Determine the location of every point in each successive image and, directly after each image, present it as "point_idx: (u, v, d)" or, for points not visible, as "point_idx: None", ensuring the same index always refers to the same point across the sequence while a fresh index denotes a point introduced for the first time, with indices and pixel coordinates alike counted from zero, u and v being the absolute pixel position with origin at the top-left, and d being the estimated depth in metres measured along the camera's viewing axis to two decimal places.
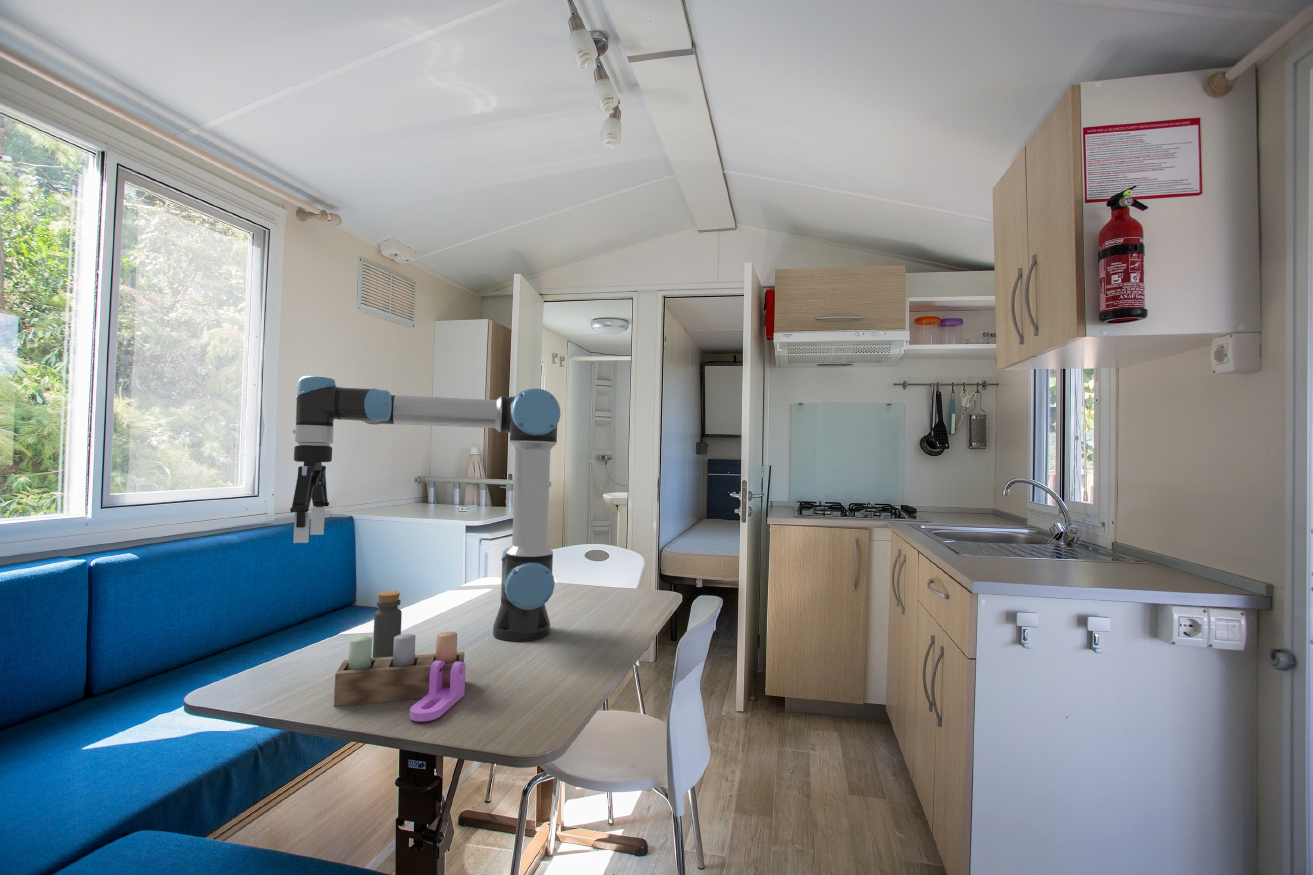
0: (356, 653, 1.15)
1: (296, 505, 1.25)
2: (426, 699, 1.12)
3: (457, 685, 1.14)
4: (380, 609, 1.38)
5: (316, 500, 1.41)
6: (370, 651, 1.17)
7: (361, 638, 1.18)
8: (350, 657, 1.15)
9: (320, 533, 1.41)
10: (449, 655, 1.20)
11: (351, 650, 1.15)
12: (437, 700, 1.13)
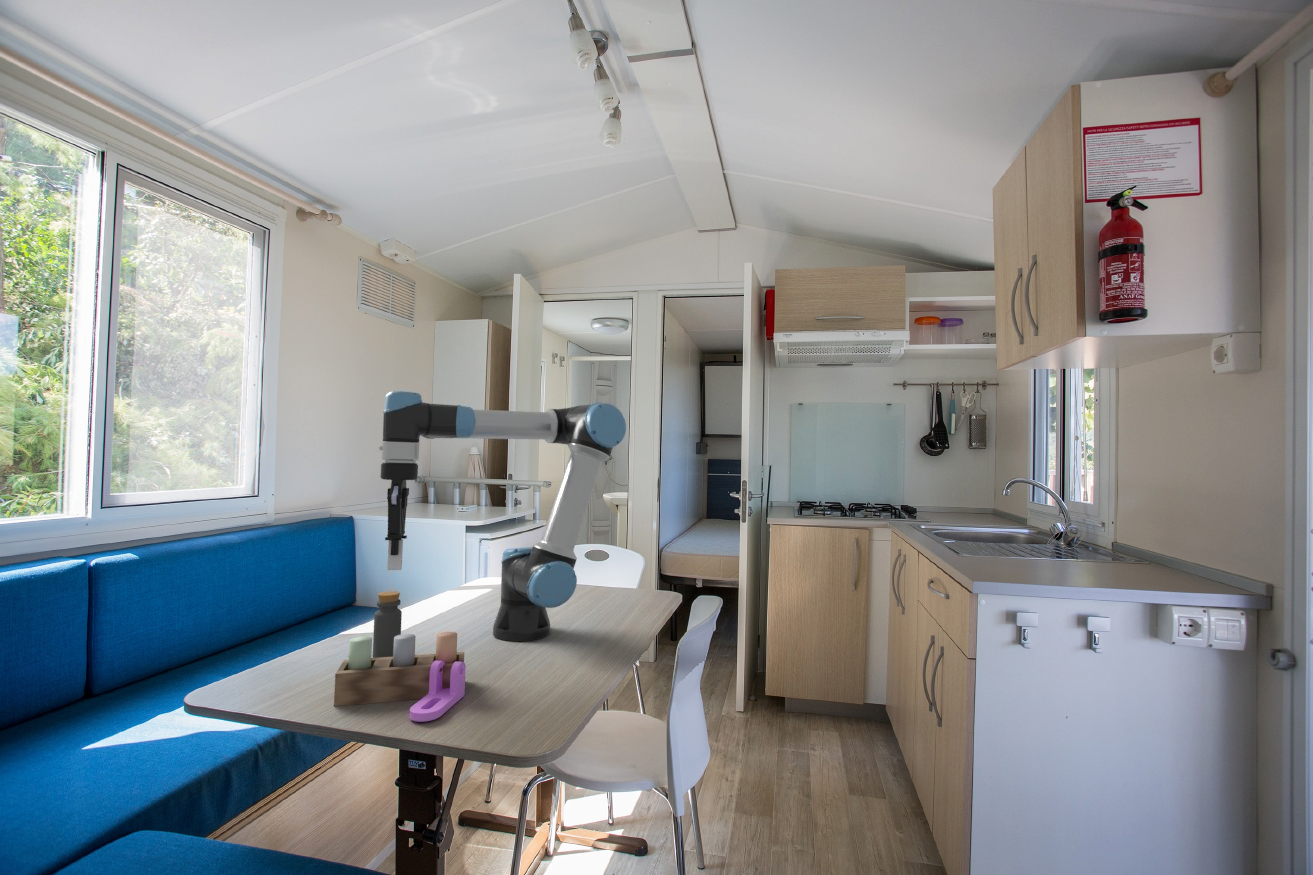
0: (356, 653, 1.15)
1: (391, 534, 1.27)
2: (426, 699, 1.12)
3: (457, 685, 1.14)
4: (380, 609, 1.38)
5: None
6: (370, 651, 1.17)
7: (361, 638, 1.18)
8: (350, 657, 1.15)
9: None
10: (449, 655, 1.20)
11: (351, 650, 1.15)
12: (437, 700, 1.13)
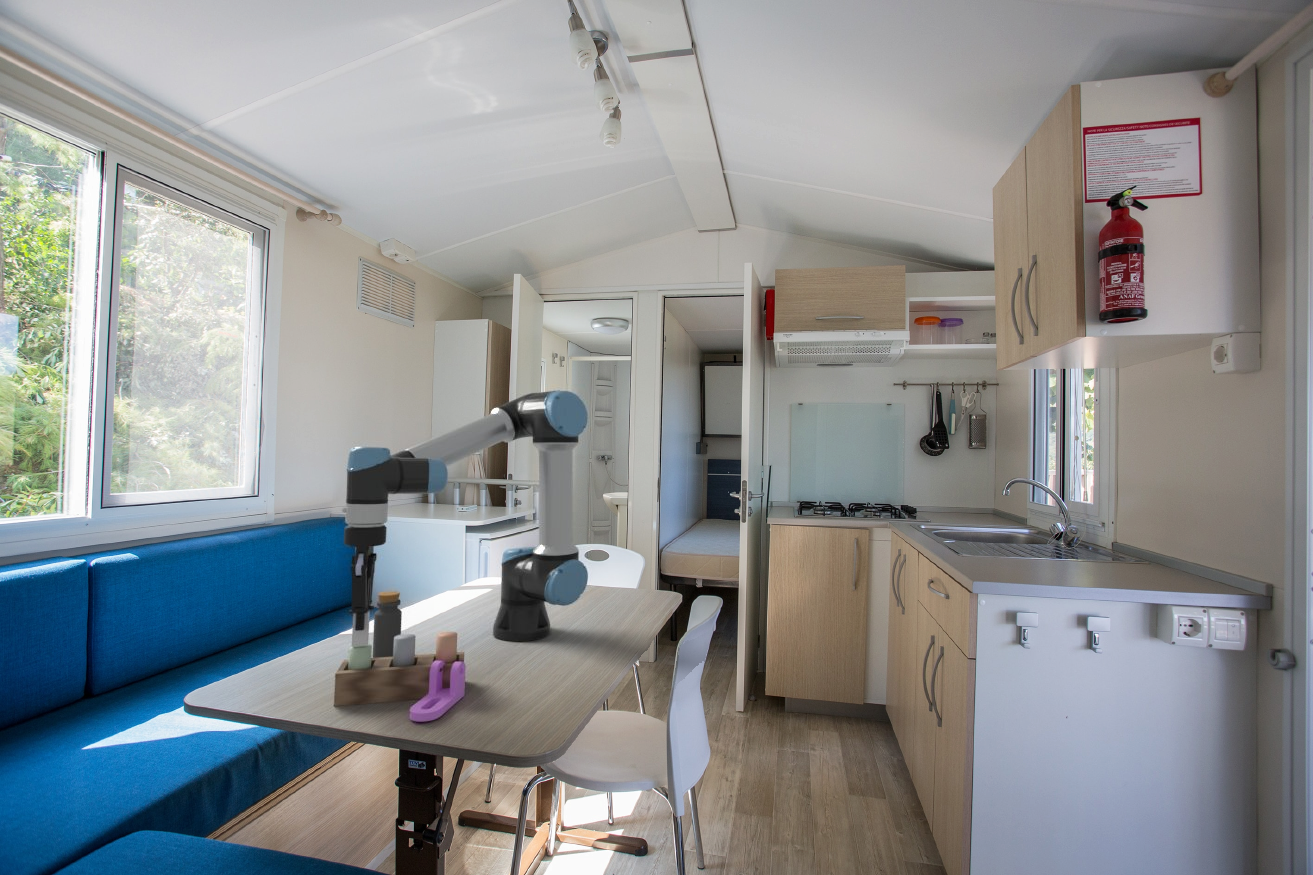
0: (355, 660, 1.15)
1: (356, 608, 1.14)
2: (426, 699, 1.12)
3: (457, 685, 1.14)
4: (380, 609, 1.38)
5: None
6: (370, 658, 1.17)
7: None
8: (350, 664, 1.15)
9: None
10: (449, 655, 1.20)
11: (351, 657, 1.15)
12: (437, 700, 1.13)
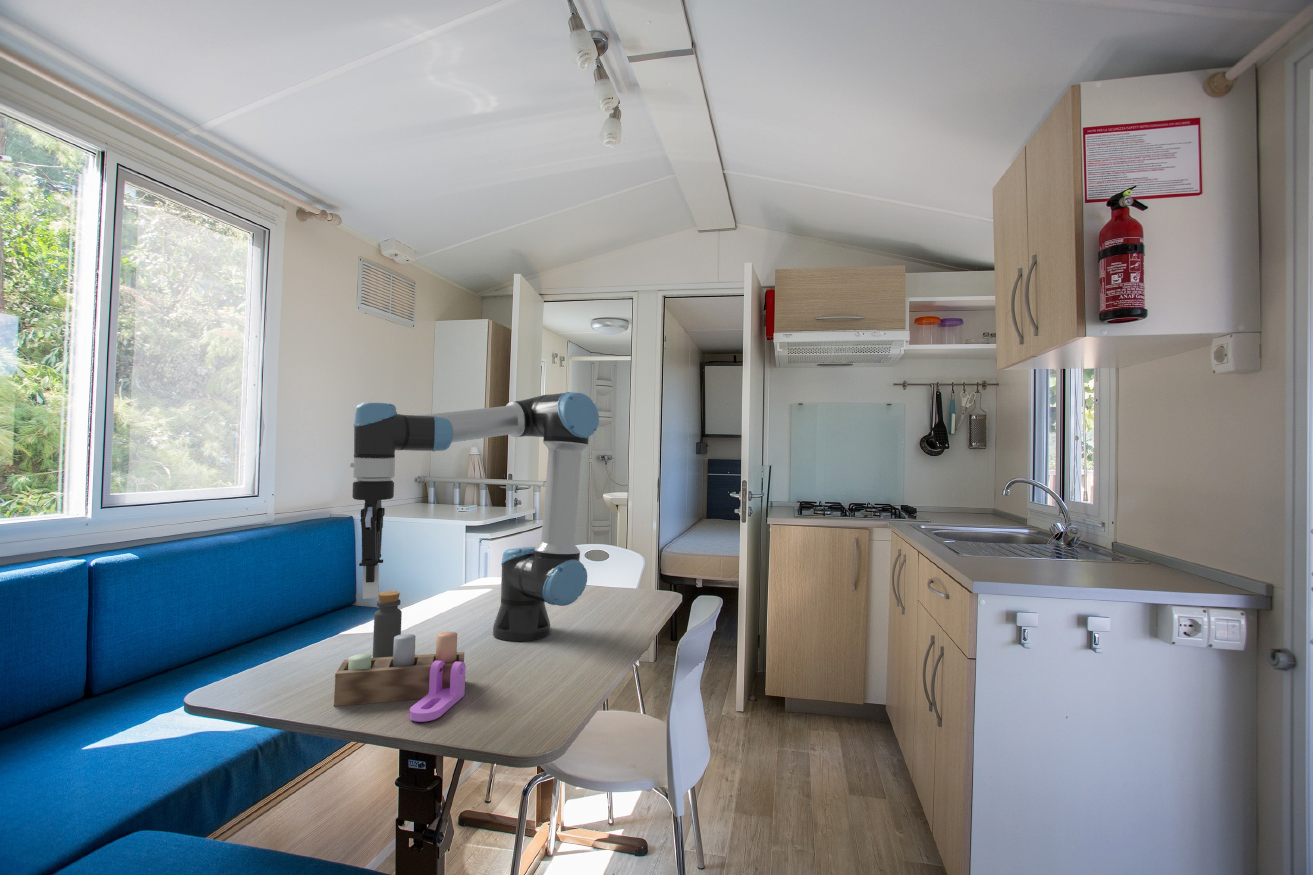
0: None
1: (366, 559, 1.16)
2: (426, 699, 1.12)
3: (457, 685, 1.14)
4: (380, 609, 1.38)
5: None
6: None
7: (360, 656, 1.17)
8: None
9: None
10: (449, 655, 1.20)
11: (350, 668, 1.15)
12: (437, 700, 1.13)
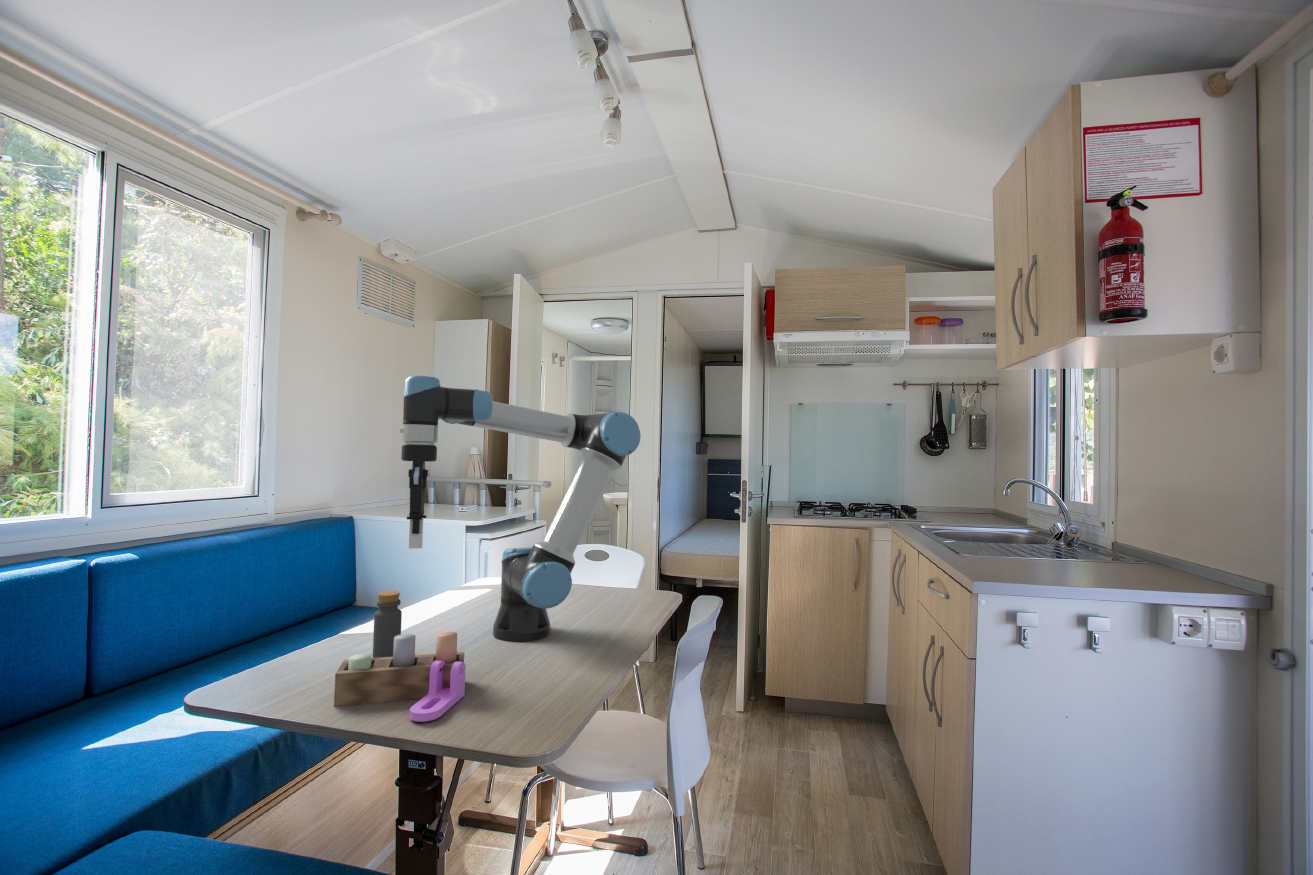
0: None
1: (413, 513, 1.32)
2: (426, 699, 1.12)
3: (457, 685, 1.14)
4: (380, 609, 1.38)
5: None
6: None
7: (360, 656, 1.17)
8: None
9: None
10: (449, 655, 1.20)
11: (350, 668, 1.15)
12: (437, 700, 1.13)
